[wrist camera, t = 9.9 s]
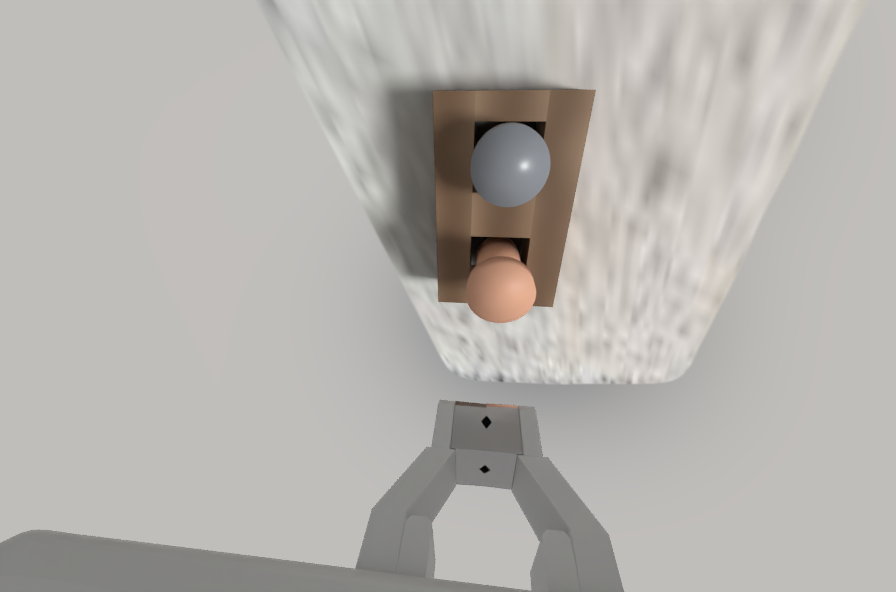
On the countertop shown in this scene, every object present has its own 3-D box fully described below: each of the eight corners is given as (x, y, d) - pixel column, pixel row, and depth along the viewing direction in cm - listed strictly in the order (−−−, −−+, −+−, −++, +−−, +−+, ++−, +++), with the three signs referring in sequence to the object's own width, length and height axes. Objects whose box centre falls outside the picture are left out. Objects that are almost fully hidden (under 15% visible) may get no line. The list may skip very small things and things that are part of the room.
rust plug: (529, 230, 27) (540, 265, 21) (522, 281, 29) (531, 324, 24) (470, 228, 27) (466, 262, 22) (468, 279, 29) (465, 321, 24)
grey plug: (540, 115, 24) (556, 124, 19) (532, 184, 26) (544, 208, 21) (474, 116, 24) (471, 124, 19) (472, 183, 27) (469, 206, 22)
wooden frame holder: (579, 89, 23) (595, 89, 20) (545, 283, 32) (552, 306, 29) (439, 90, 24) (432, 91, 21) (443, 279, 33) (438, 301, 29)
